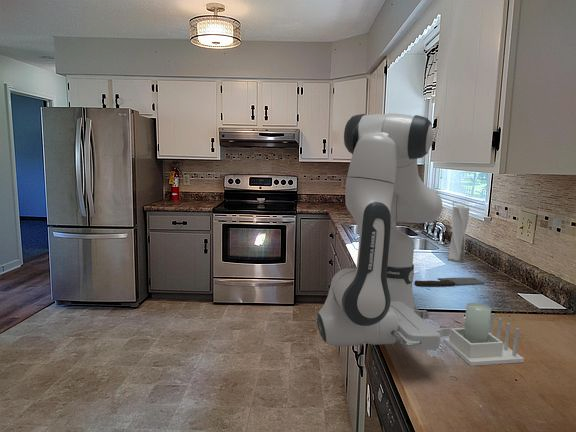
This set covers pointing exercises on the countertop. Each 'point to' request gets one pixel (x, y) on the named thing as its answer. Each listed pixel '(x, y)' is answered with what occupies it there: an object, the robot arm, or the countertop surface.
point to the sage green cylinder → (477, 323)
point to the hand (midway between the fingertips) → (437, 322)
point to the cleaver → (449, 282)
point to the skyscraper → (458, 233)
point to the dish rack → (485, 347)
